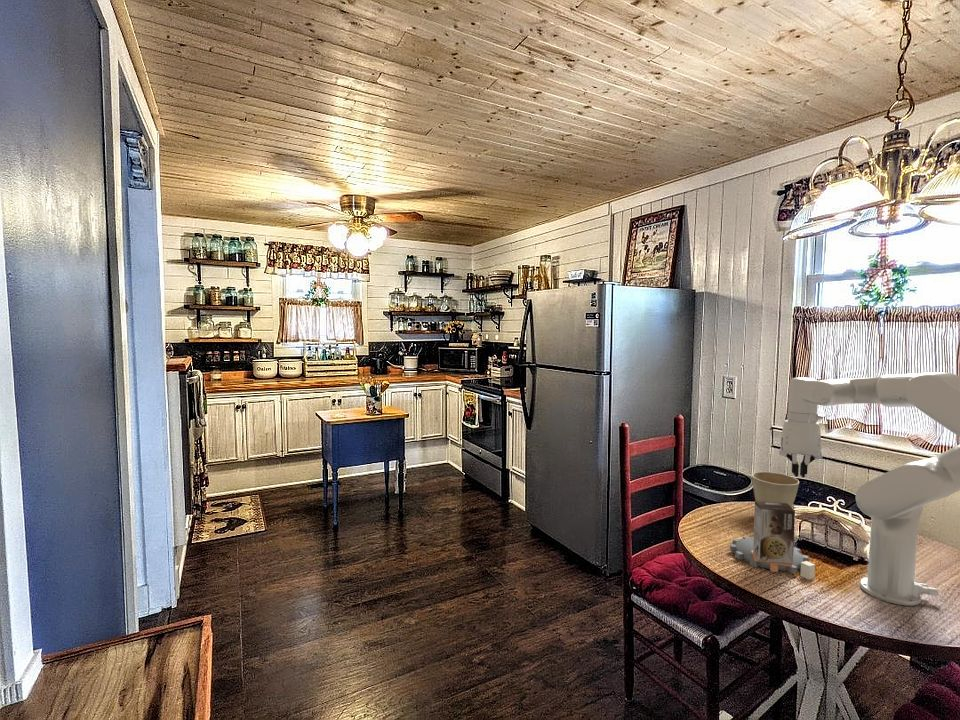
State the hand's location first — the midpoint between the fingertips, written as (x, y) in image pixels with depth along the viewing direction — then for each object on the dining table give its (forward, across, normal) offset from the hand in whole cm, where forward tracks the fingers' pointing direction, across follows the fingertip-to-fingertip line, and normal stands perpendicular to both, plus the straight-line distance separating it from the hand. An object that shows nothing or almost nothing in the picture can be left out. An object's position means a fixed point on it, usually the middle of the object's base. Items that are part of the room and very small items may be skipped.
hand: (799, 475), depth 152 cm
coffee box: (+23, +8, +12) cm, 27 cm away
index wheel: (+24, +8, +6) cm, 26 cm away
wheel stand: (+25, +6, +10) cm, 28 cm away
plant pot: (+25, +2, -28) cm, 38 cm away
